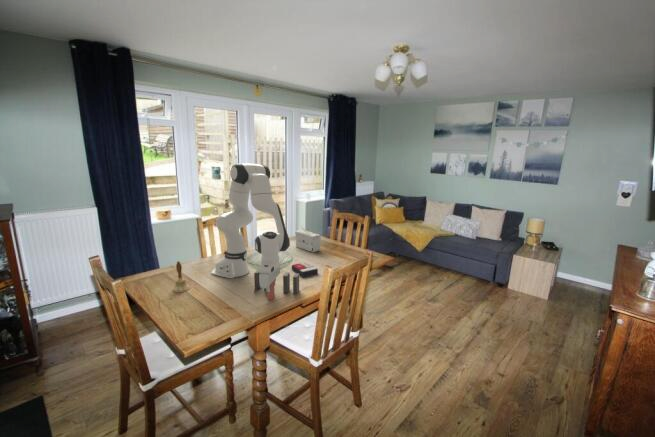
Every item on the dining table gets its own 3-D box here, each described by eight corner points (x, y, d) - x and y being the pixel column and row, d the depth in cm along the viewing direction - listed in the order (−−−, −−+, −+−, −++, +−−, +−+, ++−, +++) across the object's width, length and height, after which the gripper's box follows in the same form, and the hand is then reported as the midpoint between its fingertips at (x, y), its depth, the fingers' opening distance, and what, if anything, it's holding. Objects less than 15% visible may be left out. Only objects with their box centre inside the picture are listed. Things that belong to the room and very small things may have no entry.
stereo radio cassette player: (320, 250, 234) (321, 225, 230) (313, 253, 228) (313, 227, 224) (301, 244, 248) (302, 220, 243) (294, 247, 242) (294, 222, 237)
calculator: (306, 261, 204) (317, 267, 192) (306, 267, 205) (318, 274, 192) (291, 264, 198) (302, 271, 186) (291, 270, 199) (302, 278, 187)
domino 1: (254, 289, 170) (254, 272, 167) (258, 285, 174) (257, 269, 172) (258, 290, 169) (257, 273, 167) (261, 286, 174) (261, 269, 172)
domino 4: (293, 294, 166) (293, 276, 163) (295, 289, 171) (295, 273, 168) (296, 294, 165) (296, 277, 163) (299, 290, 170) (299, 273, 168)
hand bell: (181, 293, 163) (178, 265, 159) (169, 290, 166) (166, 263, 162) (193, 287, 171) (190, 260, 167) (181, 284, 174) (178, 257, 170)
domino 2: (267, 299, 159) (267, 281, 157) (271, 295, 164) (270, 277, 162) (271, 300, 159) (270, 282, 156) (274, 295, 164) (274, 278, 161)
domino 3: (283, 292, 167) (283, 275, 164) (286, 288, 172) (286, 272, 169) (286, 293, 166) (286, 276, 164) (289, 289, 171) (289, 272, 169)
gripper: (271, 256, 167) (272, 279, 171) (256, 270, 148) (257, 297, 151) (283, 257, 166) (283, 280, 169) (269, 272, 147) (269, 298, 150)
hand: (270, 288), depth 160 cm, fingers closed on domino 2, 5 cm apart
